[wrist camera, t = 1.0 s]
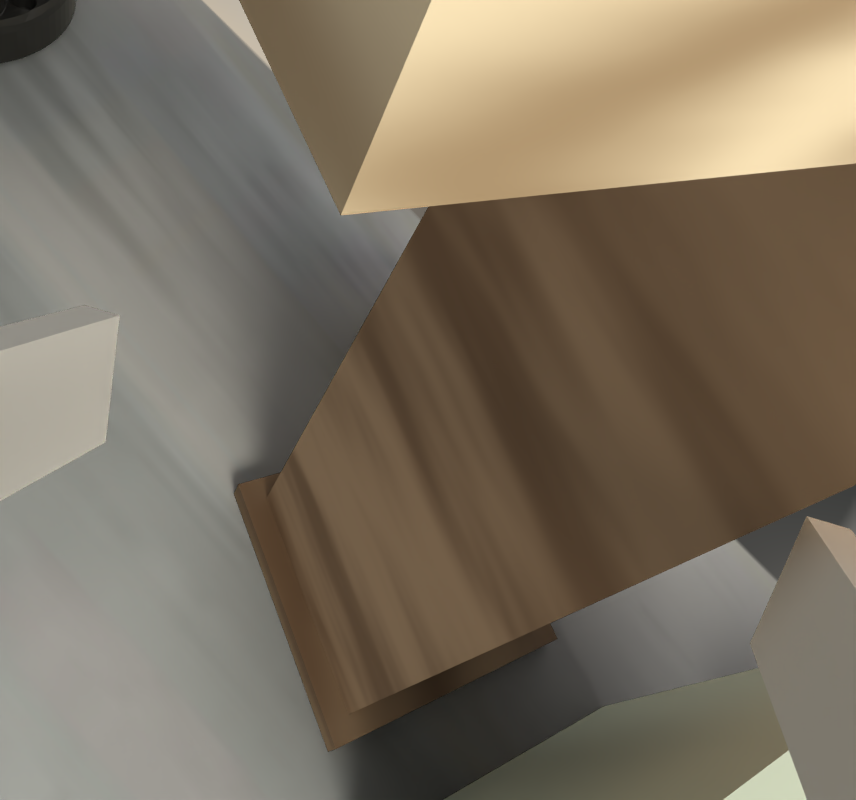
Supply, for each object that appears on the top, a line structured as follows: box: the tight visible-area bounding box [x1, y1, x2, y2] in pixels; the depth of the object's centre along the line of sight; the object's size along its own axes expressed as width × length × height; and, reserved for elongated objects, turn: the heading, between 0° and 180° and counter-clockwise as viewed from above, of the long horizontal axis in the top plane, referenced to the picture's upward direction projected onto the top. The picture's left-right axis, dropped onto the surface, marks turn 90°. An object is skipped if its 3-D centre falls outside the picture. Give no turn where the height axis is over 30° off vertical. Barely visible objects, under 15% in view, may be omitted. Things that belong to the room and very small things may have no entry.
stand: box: [234, 163, 856, 752], centre depth 25 cm, size 12×12×30 cm
